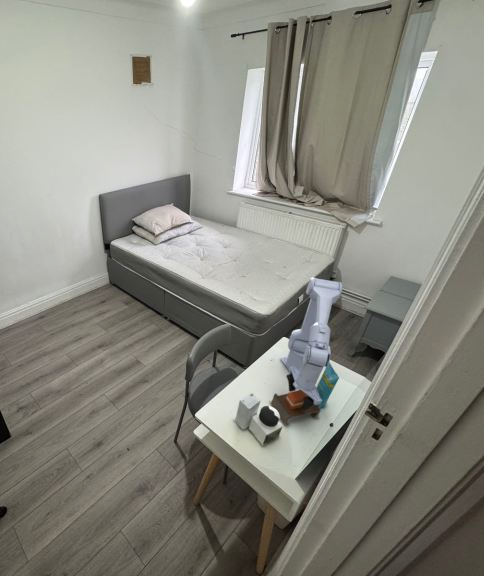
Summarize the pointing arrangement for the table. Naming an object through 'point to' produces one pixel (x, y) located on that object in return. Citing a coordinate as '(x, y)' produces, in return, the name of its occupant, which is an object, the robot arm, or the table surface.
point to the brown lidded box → (288, 413)
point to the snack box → (295, 399)
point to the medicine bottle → (266, 425)
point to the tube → (327, 384)
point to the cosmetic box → (247, 410)
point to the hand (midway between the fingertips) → (298, 399)
